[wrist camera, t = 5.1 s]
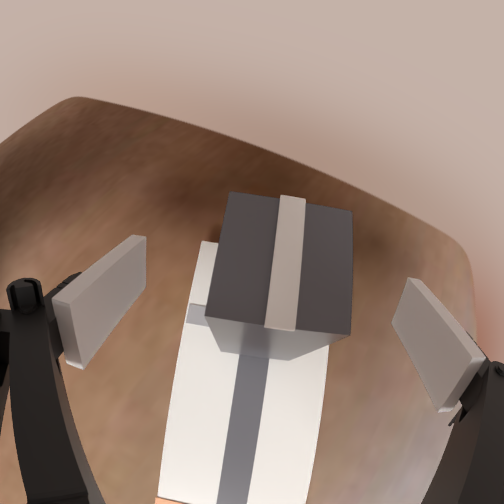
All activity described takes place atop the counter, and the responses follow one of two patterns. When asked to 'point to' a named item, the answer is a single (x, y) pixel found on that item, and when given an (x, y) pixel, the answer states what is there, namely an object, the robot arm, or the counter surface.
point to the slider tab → (281, 277)
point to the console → (238, 417)
